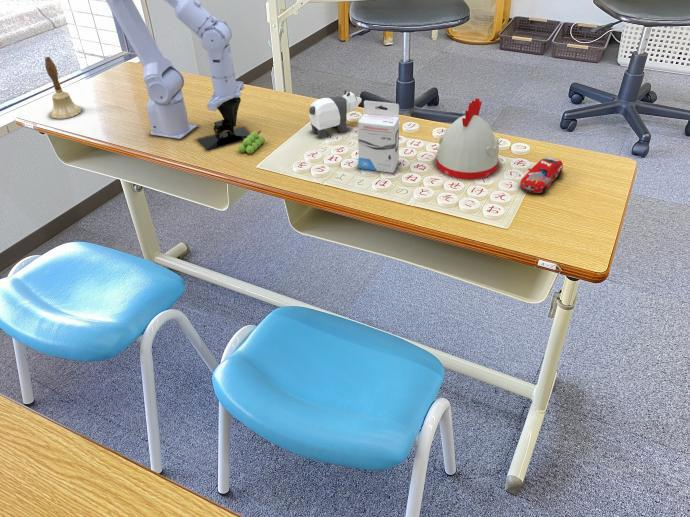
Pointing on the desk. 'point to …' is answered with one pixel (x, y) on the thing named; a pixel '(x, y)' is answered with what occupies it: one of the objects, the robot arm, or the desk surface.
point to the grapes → (251, 143)
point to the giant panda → (332, 112)
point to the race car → (542, 175)
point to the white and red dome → (468, 147)
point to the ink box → (379, 137)
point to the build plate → (223, 135)
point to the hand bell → (60, 95)
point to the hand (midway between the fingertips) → (231, 126)
